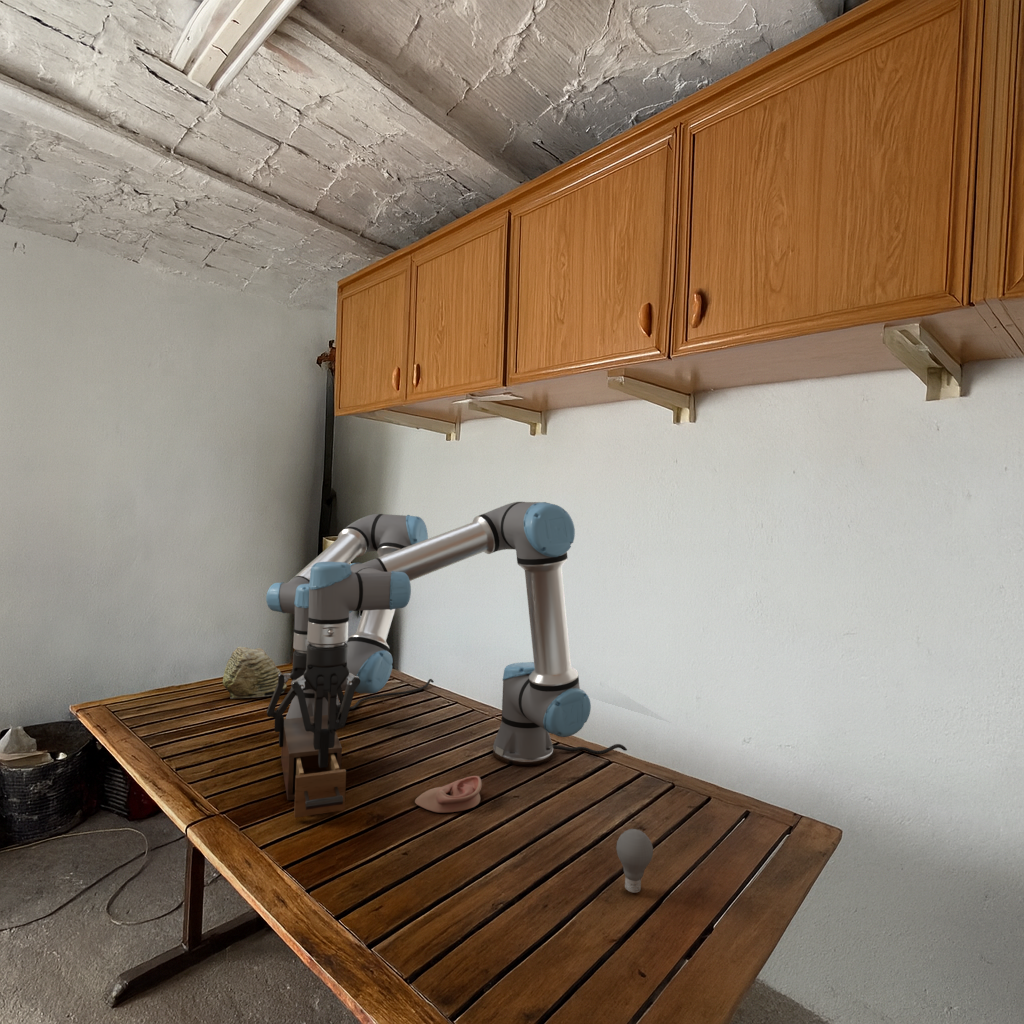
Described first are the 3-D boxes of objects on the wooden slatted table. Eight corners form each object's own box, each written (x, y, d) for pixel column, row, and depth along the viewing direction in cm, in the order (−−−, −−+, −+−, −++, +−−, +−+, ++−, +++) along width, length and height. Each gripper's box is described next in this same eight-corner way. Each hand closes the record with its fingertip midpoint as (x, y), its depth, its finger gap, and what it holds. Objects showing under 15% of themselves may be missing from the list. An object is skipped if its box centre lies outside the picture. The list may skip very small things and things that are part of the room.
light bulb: (610, 879, 108) (613, 822, 108) (644, 879, 109) (647, 822, 109) (619, 902, 102) (622, 840, 102) (655, 901, 103) (658, 840, 103)
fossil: (218, 695, 195) (220, 647, 195) (278, 685, 208) (279, 640, 207) (228, 703, 189) (230, 653, 188) (289, 692, 201) (290, 645, 201)
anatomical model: (409, 789, 130) (428, 766, 141) (409, 808, 130) (427, 784, 141) (472, 798, 127) (486, 774, 138) (471, 818, 127) (485, 792, 138)
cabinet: (340, 792, 136) (341, 747, 136) (287, 800, 131) (289, 753, 131) (327, 754, 155) (328, 714, 155) (281, 760, 151) (282, 719, 151)
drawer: (349, 824, 121) (351, 784, 121) (297, 833, 117) (298, 791, 117) (331, 769, 145) (332, 735, 145) (287, 774, 141) (288, 740, 141)
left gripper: (257, 656, 142) (254, 754, 142) (362, 650, 151) (358, 742, 151) (256, 648, 149) (253, 741, 149) (357, 643, 158) (353, 731, 158)
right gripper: (293, 649, 115) (288, 777, 116) (365, 645, 121) (360, 768, 121) (290, 640, 122) (285, 761, 123) (358, 637, 127) (354, 753, 128)
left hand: (306, 742), depth 150 cm, fingers closed on cabinet, 11 cm apart
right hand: (323, 764), depth 122 cm, fingers closed
